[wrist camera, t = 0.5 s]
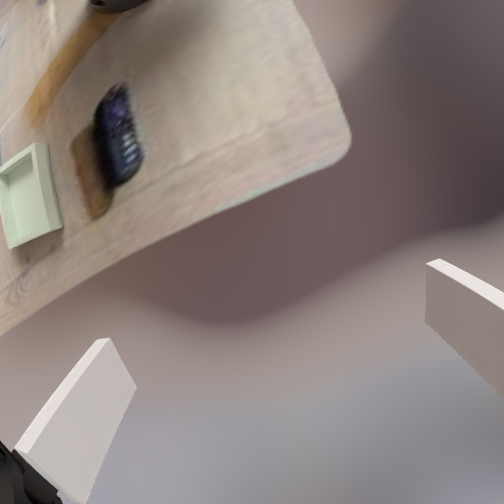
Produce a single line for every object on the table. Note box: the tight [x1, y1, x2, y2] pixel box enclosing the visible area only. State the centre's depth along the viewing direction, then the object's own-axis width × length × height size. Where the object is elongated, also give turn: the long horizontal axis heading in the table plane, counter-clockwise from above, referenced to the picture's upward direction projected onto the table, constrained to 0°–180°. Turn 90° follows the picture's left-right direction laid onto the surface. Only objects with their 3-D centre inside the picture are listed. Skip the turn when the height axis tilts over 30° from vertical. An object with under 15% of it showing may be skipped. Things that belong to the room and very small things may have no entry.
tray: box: [0, 142, 64, 249], centre depth 33 cm, size 14×12×4 cm
